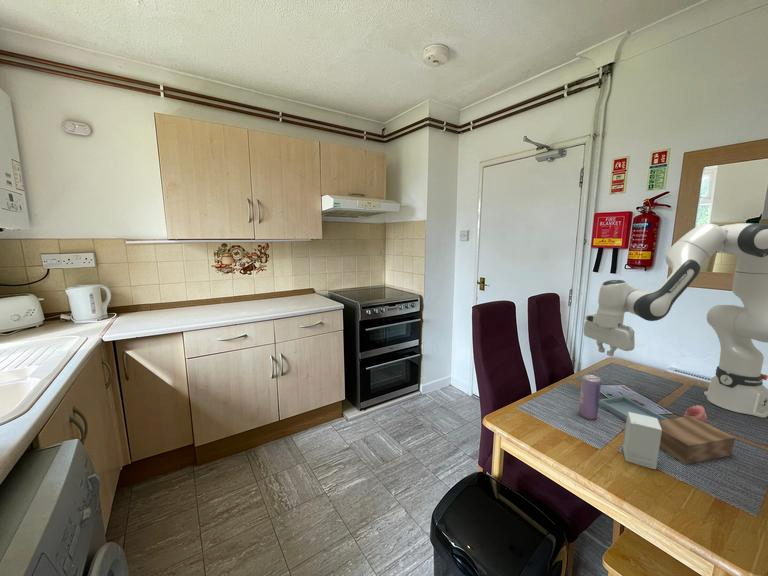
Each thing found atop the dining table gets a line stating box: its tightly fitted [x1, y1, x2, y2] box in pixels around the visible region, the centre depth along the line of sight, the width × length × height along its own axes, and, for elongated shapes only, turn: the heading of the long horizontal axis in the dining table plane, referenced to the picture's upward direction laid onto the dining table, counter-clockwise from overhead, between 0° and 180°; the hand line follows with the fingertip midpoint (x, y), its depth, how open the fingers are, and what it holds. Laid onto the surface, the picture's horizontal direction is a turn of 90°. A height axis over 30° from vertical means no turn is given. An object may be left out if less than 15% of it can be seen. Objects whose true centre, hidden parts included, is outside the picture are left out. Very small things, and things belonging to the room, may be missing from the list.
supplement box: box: [622, 412, 662, 470], centre depth 96 cm, size 7×7×13 cm
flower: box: [683, 404, 708, 423], centre depth 115 cm, size 8×8×6 cm
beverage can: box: [578, 374, 602, 420], centre depth 119 cm, size 6×6×15 cm
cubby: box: [659, 416, 736, 465], centre depth 102 cm, size 18×12×6 cm, turn 102°
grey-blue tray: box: [598, 396, 668, 423], centre depth 119 cm, size 12×19×2 cm, turn 12°
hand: (605, 353), depth 130 cm, fingers open, 3 cm apart
